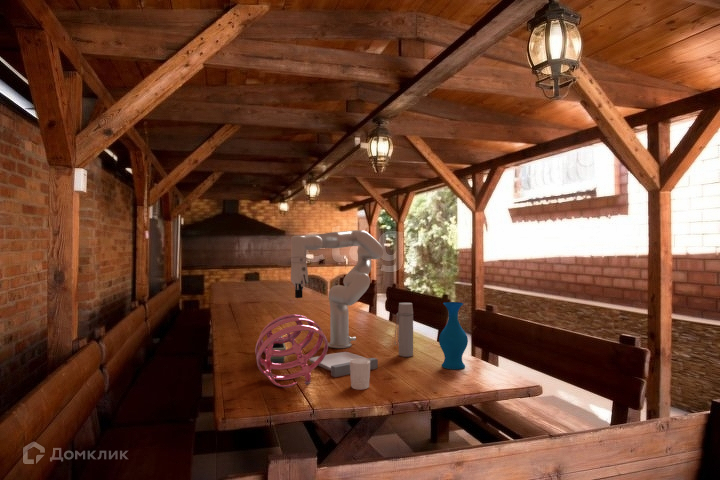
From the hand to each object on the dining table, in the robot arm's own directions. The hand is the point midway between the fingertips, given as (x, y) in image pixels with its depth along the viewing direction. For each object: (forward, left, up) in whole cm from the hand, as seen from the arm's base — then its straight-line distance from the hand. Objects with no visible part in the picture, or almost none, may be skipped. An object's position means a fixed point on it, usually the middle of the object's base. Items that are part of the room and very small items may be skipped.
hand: (298, 297), depth 232 cm
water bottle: (-38, +35, -27) cm, 58 cm away
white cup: (+7, +61, -27) cm, 67 cm away
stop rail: (-3, +43, -27) cm, 51 cm away
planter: (+12, 0, -28) cm, 30 cm away
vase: (-42, +63, -27) cm, 80 cm away
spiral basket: (+25, +40, -27) cm, 54 cm away
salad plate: (-3, +31, -28) cm, 42 cm away
